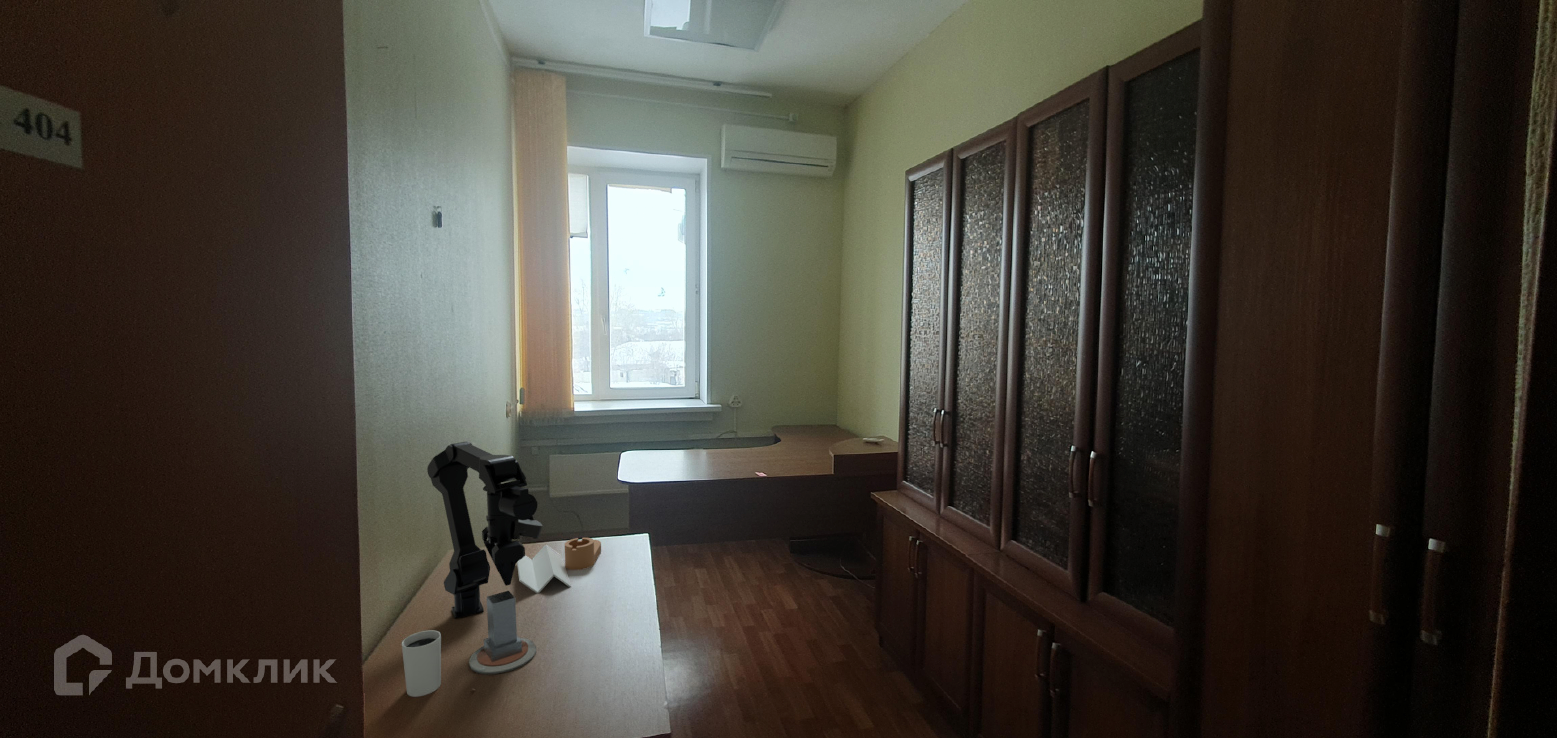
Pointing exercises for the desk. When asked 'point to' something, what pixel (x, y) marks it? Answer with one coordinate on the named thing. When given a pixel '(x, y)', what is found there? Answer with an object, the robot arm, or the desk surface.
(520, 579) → the white zigzag folded sheet
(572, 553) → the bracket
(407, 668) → the white cup
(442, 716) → the desk surface
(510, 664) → the copper centred dish
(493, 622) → the grey stepped block
